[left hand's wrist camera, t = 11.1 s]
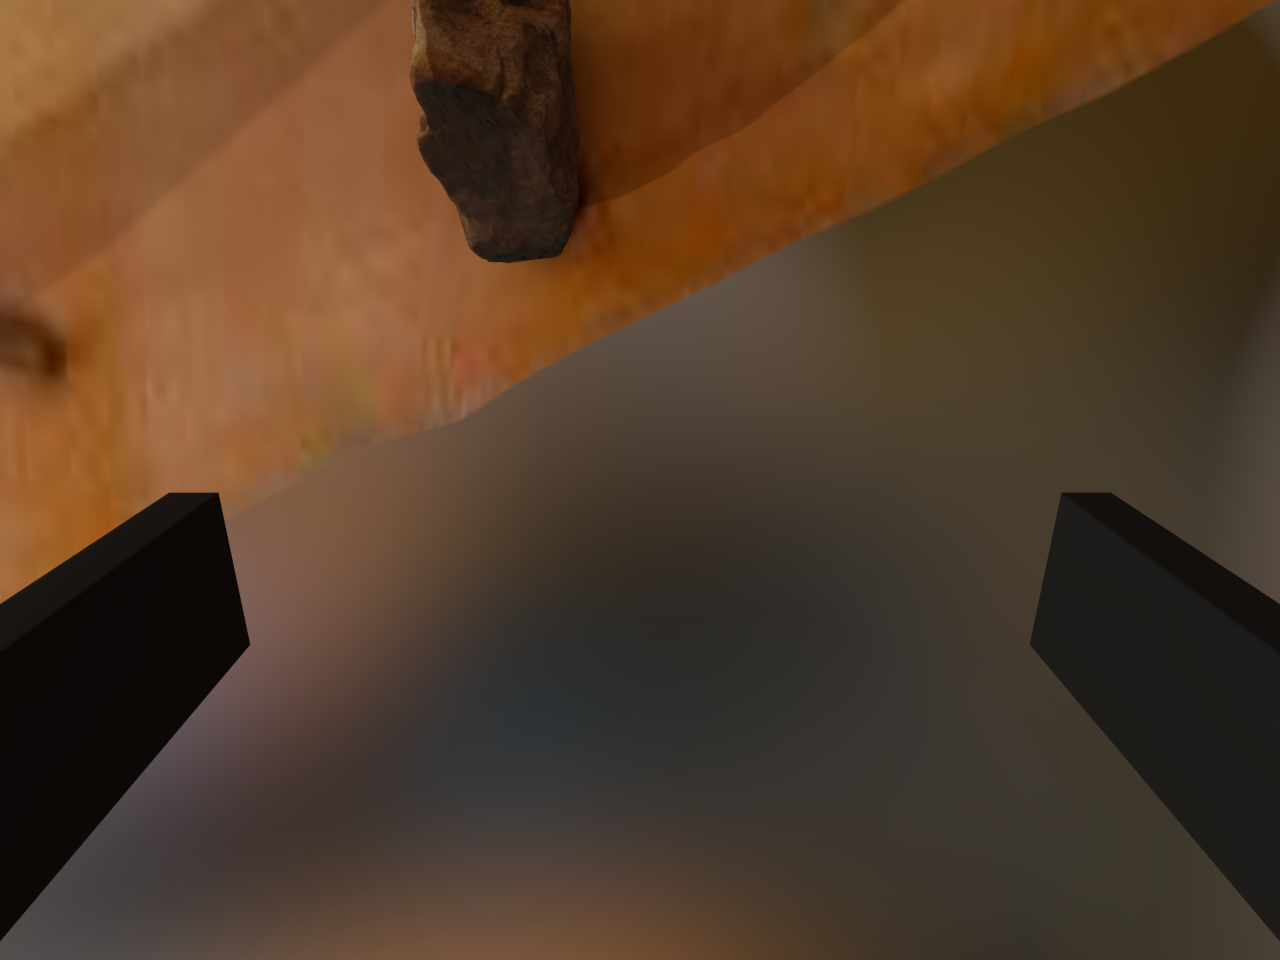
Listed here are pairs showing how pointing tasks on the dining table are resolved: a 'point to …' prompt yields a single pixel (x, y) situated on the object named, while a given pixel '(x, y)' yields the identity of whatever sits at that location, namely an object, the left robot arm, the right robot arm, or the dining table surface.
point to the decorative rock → (500, 120)
